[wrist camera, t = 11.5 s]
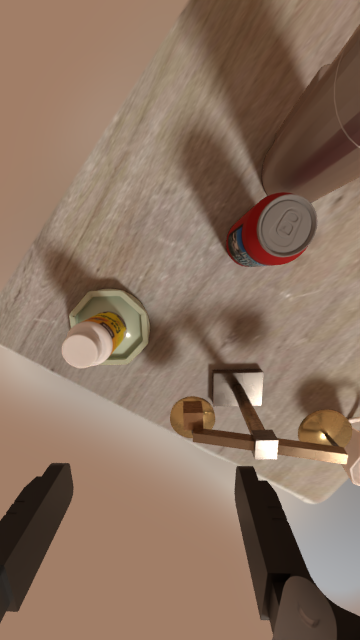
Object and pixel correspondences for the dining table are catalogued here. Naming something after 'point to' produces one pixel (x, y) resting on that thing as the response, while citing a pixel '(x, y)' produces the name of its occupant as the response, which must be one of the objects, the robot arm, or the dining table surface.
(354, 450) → the cup
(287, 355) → the dining table surface
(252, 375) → the balance
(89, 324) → the supplement bottle
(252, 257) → the beverage can
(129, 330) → the dish
